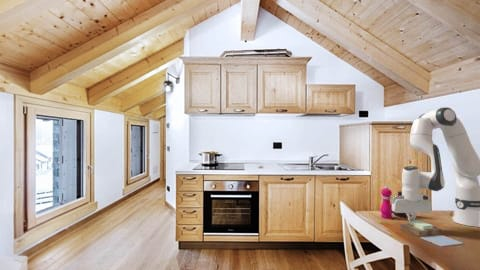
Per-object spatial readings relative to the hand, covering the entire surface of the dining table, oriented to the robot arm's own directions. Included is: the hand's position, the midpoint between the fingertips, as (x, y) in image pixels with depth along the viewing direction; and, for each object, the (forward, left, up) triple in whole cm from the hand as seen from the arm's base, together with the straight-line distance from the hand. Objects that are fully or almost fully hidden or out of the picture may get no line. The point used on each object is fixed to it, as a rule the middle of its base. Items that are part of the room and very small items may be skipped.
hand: (411, 220), depth 151 cm
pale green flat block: (0, +6, -2) cm, 6 cm away
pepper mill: (-2, -21, -5) cm, 22 cm away
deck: (0, +6, -5) cm, 7 cm away
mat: (+1, +18, -5) cm, 19 cm away
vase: (-14, -22, -5) cm, 27 cm away
